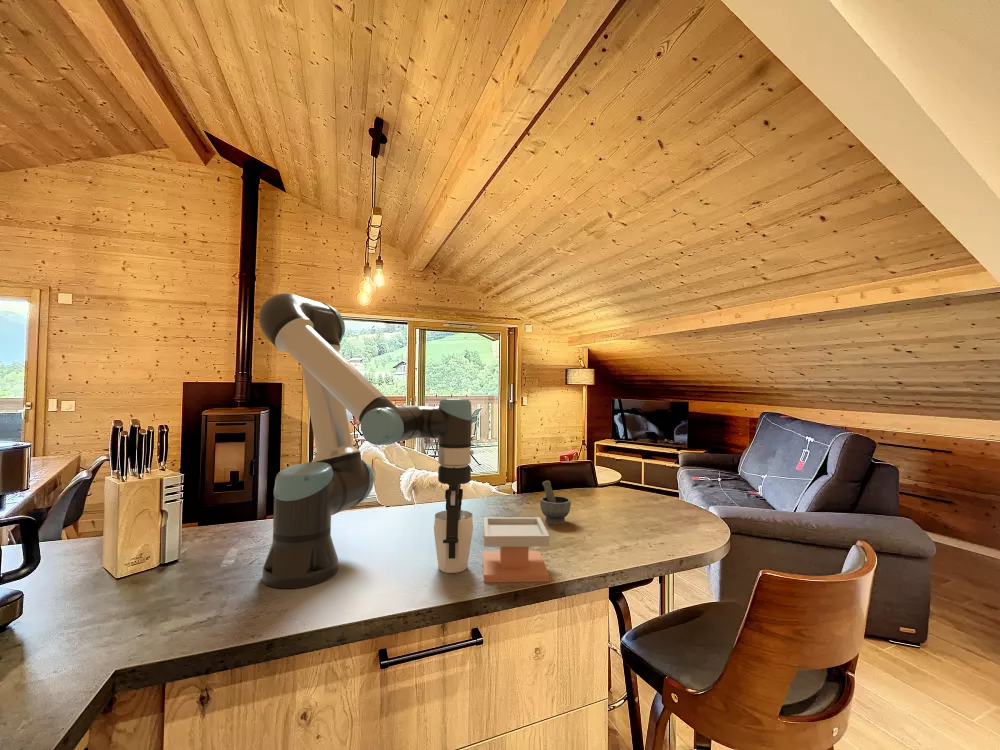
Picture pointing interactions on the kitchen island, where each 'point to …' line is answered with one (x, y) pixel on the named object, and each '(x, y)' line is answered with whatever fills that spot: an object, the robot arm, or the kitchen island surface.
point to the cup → (463, 537)
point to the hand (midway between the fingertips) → (452, 563)
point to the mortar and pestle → (554, 506)
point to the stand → (514, 549)
